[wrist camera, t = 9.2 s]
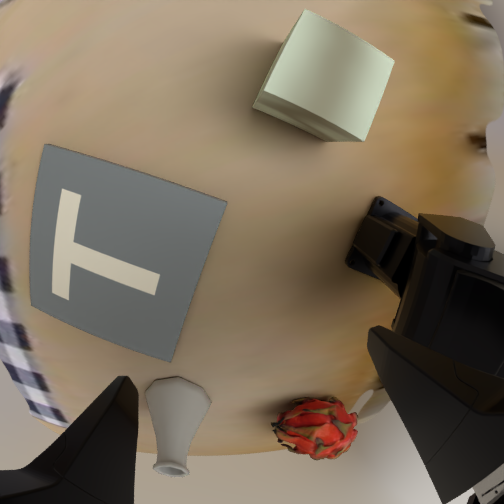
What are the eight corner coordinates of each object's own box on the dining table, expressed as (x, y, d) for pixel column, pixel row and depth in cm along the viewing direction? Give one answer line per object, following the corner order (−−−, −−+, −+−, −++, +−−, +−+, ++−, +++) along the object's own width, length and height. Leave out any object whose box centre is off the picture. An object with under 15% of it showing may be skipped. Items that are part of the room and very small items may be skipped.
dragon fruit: (340, 407, 33) (269, 385, 32) (382, 402, 26) (304, 378, 25) (325, 460, 28) (248, 445, 26) (368, 466, 21) (280, 456, 20)
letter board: (227, 201, 19) (227, 203, 19) (171, 358, 24) (170, 362, 24) (48, 143, 16) (44, 144, 15) (33, 302, 21) (30, 305, 20)
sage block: (352, 78, 17) (394, 61, 11) (326, 141, 19) (364, 141, 13) (283, 42, 15) (304, 8, 10) (252, 107, 17) (263, 90, 12)
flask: (177, 418, 28) (172, 486, 19) (134, 388, 26) (117, 460, 17) (222, 401, 27) (226, 477, 18) (179, 366, 25) (169, 451, 16)
